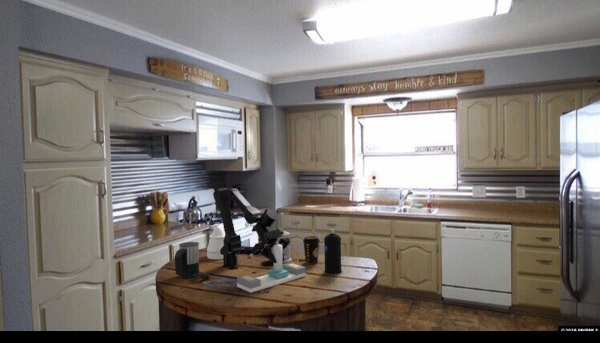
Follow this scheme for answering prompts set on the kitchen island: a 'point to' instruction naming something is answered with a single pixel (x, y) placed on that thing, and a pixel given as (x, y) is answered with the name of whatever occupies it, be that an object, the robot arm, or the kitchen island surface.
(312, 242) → the coffee cup
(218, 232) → the white jug
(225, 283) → the kitchen island surface
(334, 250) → the aerosol can
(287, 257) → the french press
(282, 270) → the carriage
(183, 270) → the milk frother
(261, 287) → the rail
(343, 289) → the kitchen island surface
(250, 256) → the door handle
